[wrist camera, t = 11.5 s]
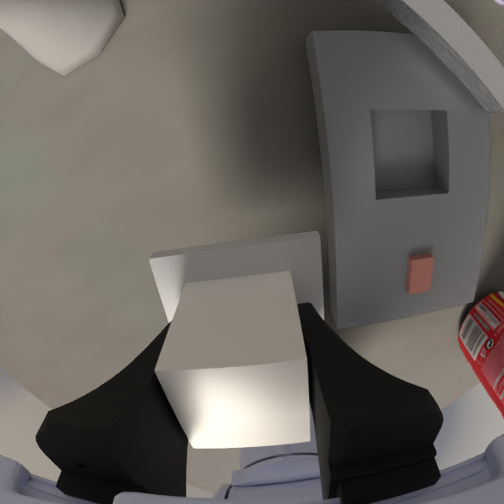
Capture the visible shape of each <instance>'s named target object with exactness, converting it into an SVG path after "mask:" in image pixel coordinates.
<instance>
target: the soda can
mask: <svg viewBox="0 0 504 504" xmlns="http://www.w3.org/2000/svg"><path fill="white" fill-rule="evenodd" d="M458 342H459V345H460V348H461V350H462V351H463V353H464V355H465V357H466V359H467V361H468V363H469V364H470V366H471V367H472V369H473V371H474V372H475V374H476V375H477V377H478V378H479V380H480V382H481V383H482V385H483V386H484V388H485V389H486V391H487V393H488V394H489V396H490V398H491V399H492V401H493V402H494V404H495V406H496V407H497V409H498V411H499V412H500V413H501V415H502V417H503V418H504V292H495V293H492V294H490V295H488V296H486V297H485V298H483V299H482V300H480V301H479V302H478V303H477V304H476V305H475V306H474V307H473V308H472V309H471V310H470V311H469V313H468V314H467V316H466V318H465V320H464V321H463V323H462V326H461V328H460V331H459V336H458Z"/></svg>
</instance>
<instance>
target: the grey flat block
mask: <svg viewBox="0 0 504 504" xmlns="http://www.w3.org/2000/svg"><path fill="white" fill-rule="evenodd" d="M305 45H306V51H307V57H308V63H309V70H310V76H311V83H312V90H313V97H314V104H315V112H316V120H317V128H318V137H319V146H320V155H321V165H322V175H323V186H324V198H325V211H326V225H327V241H328V260H329V283H330V310H331V313H332V315H333V318H334V321H335V324H336V327H337V330H339V329H345V328H351V327H357V326H363V325H368V324H374V323H379V322H385V321H390V320H395V319H400V318H405V317H410V316H415V315H420V314H424V313H429V312H433V311H438V310H442V309H446V308H451V307H455V306H459V305H463V304H467V303H471V302H473V301H474V297H475V292H476V287H477V283H478V277H479V272H480V266H481V260H482V254H483V247H484V240H485V232H486V223H487V213H488V201H489V185H490V120H489V112H485V111H483V110H482V109H481V108H480V107H479V106H478V103H477V100H476V99H475V97H474V96H473V95H472V94H471V92H470V91H469V90H468V89H467V88H466V87H465V85H464V84H463V83H462V82H461V81H460V80H459V79H458V78H457V76H456V75H455V74H454V73H453V72H452V71H451V70H450V69H449V68H448V67H447V66H446V65H445V64H444V63H443V62H442V60H441V59H440V58H439V57H438V56H437V55H436V54H435V53H434V52H433V51H432V50H431V49H430V48H428V47H427V46H426V45H425V44H424V43H423V42H422V41H421V40H420V39H419V38H418V37H417V36H416V35H415V34H408V33H397V32H383V31H358V30H327V31H311V33H310V34H309V36H308V37H307V38H306V40H305Z"/></svg>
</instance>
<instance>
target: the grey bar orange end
mask: <svg viewBox="0 0 504 504" xmlns="http://www.w3.org/2000/svg"><path fill="white" fill-rule="evenodd" d="M374 1H375V2H376V3H378V4H379V5H380V6H381V7H383V8H384V9H385V10H386V11H388V12H389V13H390V14H391V15H393V16H394V17H395V18H396V19H397V20H399V21H400V22H401V23H402V24H403V25H404V26H406V27H407V28H408V29H409V30H410V31H411V32H412V33H413V34H415V35H416V36H417V37H418V38H419V39H420V40H421V41H422V42H423V43H424V44H425V45H426V46H427V47H428V48H430V49H431V50H432V51H433V52H434V53H435V54H436V55H437V56H438V57H439V58H440V59H441V60H442V62H443V63H444V64H445V65H446V66H447V67H448V68H449V69H450V70H451V71H452V72H453V73H454V74H455V75H456V76H457V78H458V79H459V80H460V81H461V82H462V83H463V84H464V85H465V87H466V88H467V89H468V90H469V91H470V92H471V94H472V95H473V96H474V97H475V99H476V100H477V103H478V106H479V107H480V108H481V109H482V110H483V111H485V112H492V113H500V114H504V67H503V66H502V65H501V63H500V62H499V61H498V59H497V58H496V57H495V56H494V54H493V53H492V52H491V51H490V49H489V48H488V47H487V46H486V45H485V43H484V42H483V41H482V40H481V39H480V38H479V37H478V35H477V34H476V33H475V32H474V31H473V30H472V29H471V28H470V26H469V25H468V24H467V23H466V22H465V21H464V20H463V19H462V18H461V17H460V16H459V15H458V14H457V13H456V12H455V11H454V10H453V9H452V8H451V7H450V6H449V5H448V4H447V3H446V2H445V1H444V0H374Z"/></svg>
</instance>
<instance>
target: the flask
mask: <svg viewBox="0 0 504 504" xmlns="http://www.w3.org/2000/svg"><path fill="white" fill-rule="evenodd" d="M123 18H124V14H123V11H122V8H121V5H120V1H119V0H0V28H1V29H2V30H4V31H5V32H6V33H7V34H8V35H10V36H11V37H12V38H13V39H14V40H15V41H17V42H18V43H19V44H20V45H21V46H22V47H23V48H24V49H25V50H26V51H27V52H28V53H29V54H30V55H31V56H32V57H33V58H35V59H36V60H37V61H38V62H40V63H42V64H43V65H45V66H47V67H49V68H51V69H52V70H54V71H56V72H58V73H60V74H61V75H63V76H65V75H67V74H68V73H70V72H71V71H73V70H75V69H76V68H78V67H80V66H81V65H83V64H85V63H86V62H88V61H90V60H91V59H93V58H95V57H97V56H99V55H100V53H101V52H102V50H103V48H104V47H105V45H106V44H107V42H108V41H109V39H110V38H111V36H112V34H113V33H114V31H115V30H116V29H117V27H118V26H119V24H120V23H121V21H122V20H123Z"/></svg>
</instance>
